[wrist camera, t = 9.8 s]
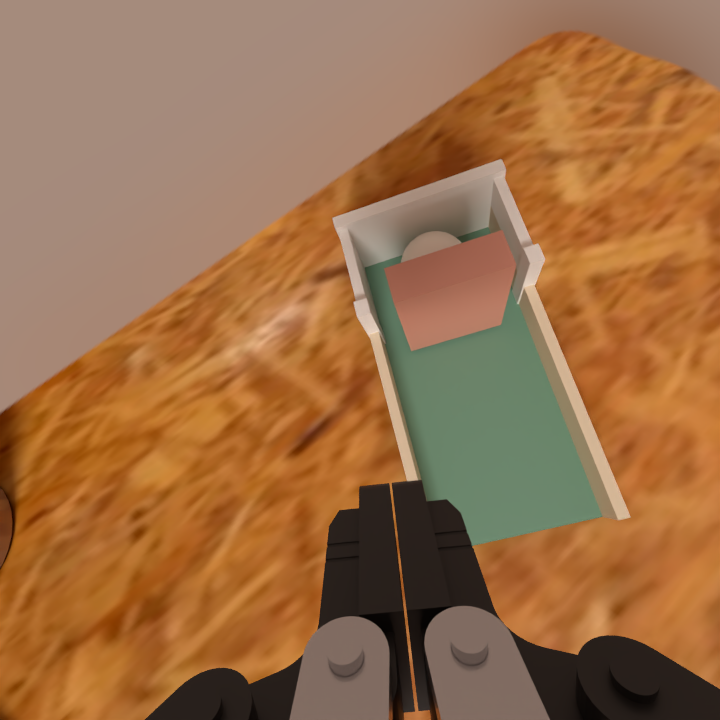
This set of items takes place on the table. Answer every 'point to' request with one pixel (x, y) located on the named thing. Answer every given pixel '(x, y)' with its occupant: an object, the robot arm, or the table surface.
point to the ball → (428, 244)
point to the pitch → (494, 419)
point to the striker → (453, 290)
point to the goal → (434, 228)
